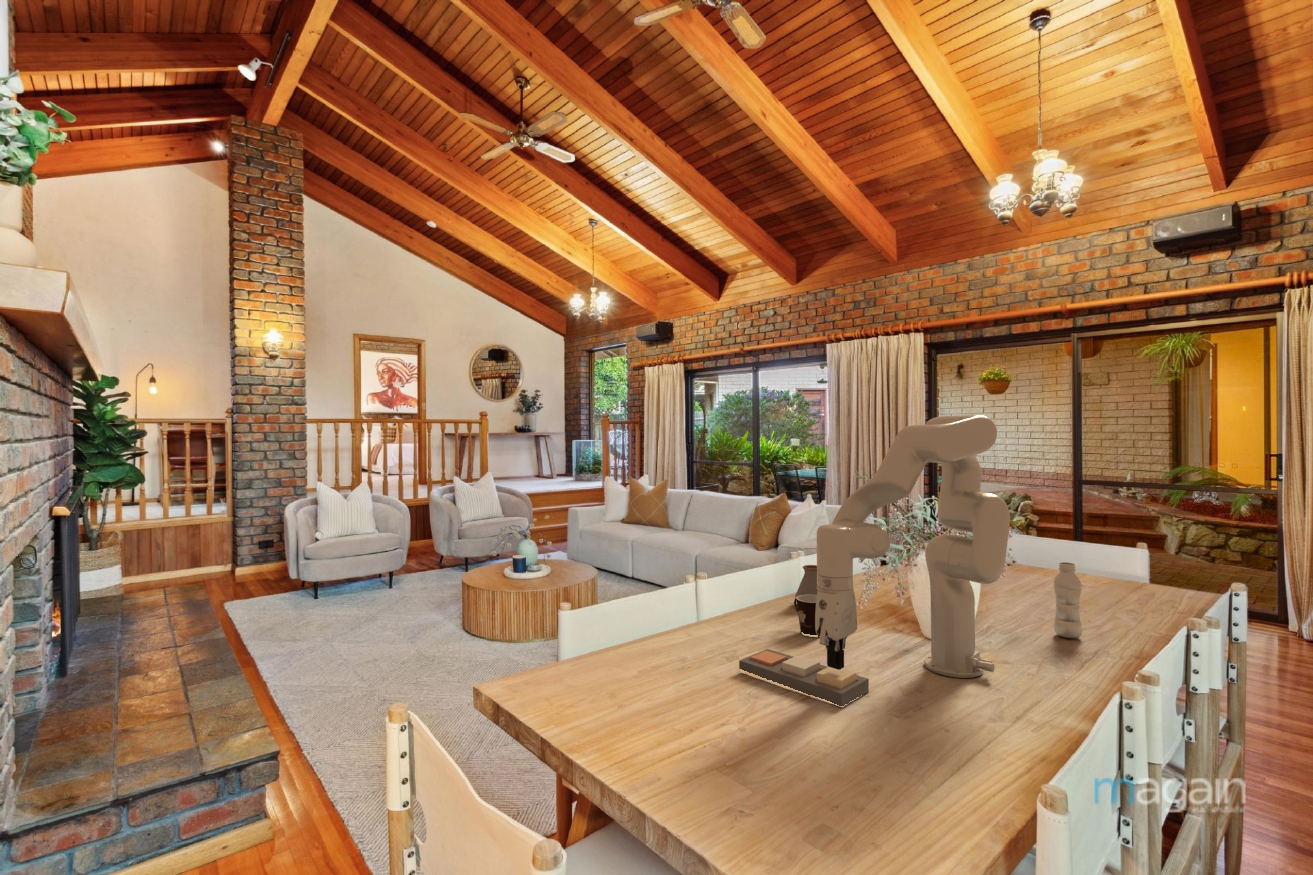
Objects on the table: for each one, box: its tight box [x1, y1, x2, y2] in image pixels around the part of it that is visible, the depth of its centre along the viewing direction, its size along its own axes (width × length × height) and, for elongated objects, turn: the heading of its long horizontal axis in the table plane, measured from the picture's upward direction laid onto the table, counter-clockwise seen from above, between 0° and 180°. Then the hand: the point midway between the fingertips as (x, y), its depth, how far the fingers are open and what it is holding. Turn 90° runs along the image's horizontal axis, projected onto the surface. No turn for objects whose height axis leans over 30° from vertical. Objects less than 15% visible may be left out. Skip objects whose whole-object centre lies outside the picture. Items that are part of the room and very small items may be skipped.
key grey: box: [782, 655, 821, 677], centre depth 141 cm, size 6×6×2 cm
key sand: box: [817, 666, 857, 689], centre depth 135 cm, size 6×6×2 cm
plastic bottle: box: [1053, 561, 1083, 639], centre depth 169 cm, size 6×7×20 cm
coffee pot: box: [794, 564, 818, 599], centre depth 205 cm, size 21×12×15 cm, turn 119°
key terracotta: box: [751, 651, 787, 667], centre depth 148 cm, size 6×6×2 cm
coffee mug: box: [793, 595, 817, 635], centre depth 176 cm, size 12×9×10 cm
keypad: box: [738, 648, 870, 706], centre depth 141 cm, size 27×11×3 cm, turn 43°
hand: (835, 667), depth 135 cm, fingers closed
